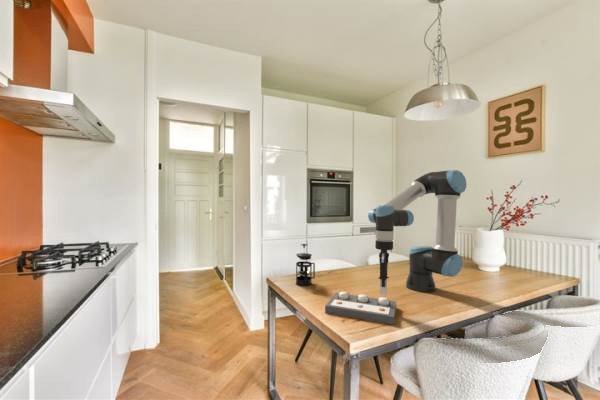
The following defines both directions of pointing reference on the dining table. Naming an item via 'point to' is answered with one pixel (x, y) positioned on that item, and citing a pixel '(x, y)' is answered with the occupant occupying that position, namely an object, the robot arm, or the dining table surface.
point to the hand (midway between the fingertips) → (383, 293)
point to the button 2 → (384, 301)
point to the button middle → (363, 298)
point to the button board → (362, 309)
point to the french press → (304, 278)
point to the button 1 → (343, 295)
